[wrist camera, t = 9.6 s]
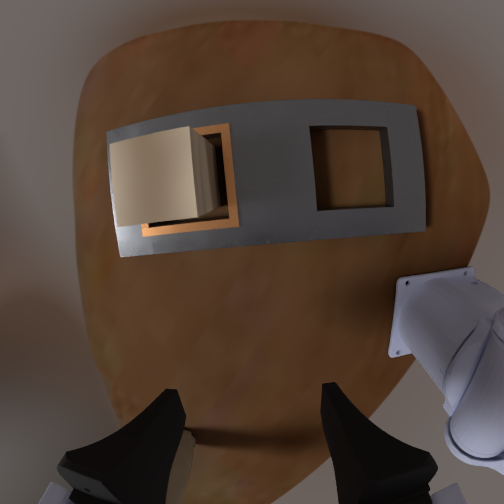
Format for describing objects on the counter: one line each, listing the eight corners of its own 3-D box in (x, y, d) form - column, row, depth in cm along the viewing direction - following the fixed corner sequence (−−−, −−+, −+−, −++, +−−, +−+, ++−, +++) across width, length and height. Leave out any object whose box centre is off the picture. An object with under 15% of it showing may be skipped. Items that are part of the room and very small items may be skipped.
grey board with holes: (406, 109, 18) (416, 105, 16) (416, 228, 20) (427, 231, 18) (115, 134, 19) (105, 131, 18) (128, 252, 21) (119, 257, 20)
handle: (161, 441, 27) (127, 535, 12) (165, 413, 26) (122, 522, 11) (198, 453, 27) (175, 550, 13) (207, 426, 26) (181, 541, 11)
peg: (215, 146, 19) (189, 126, 12) (220, 206, 20) (197, 217, 13) (158, 156, 20) (109, 144, 12) (164, 213, 21) (117, 227, 13)
